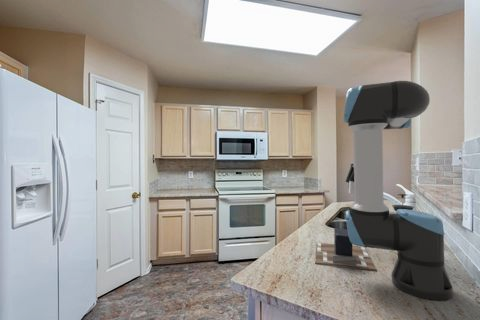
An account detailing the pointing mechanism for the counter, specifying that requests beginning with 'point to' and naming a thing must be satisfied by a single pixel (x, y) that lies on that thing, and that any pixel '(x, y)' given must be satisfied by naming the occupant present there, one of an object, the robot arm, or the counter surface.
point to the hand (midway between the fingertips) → (362, 189)
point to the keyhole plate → (344, 257)
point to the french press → (402, 205)
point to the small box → (342, 242)
